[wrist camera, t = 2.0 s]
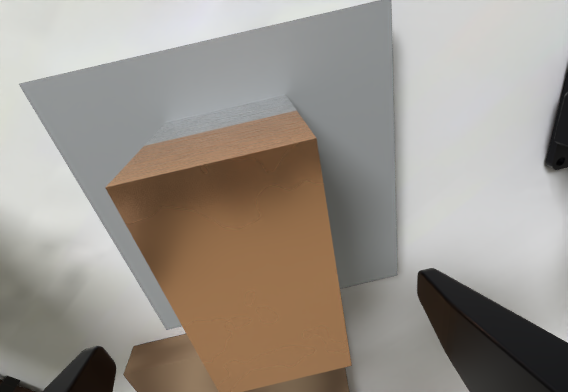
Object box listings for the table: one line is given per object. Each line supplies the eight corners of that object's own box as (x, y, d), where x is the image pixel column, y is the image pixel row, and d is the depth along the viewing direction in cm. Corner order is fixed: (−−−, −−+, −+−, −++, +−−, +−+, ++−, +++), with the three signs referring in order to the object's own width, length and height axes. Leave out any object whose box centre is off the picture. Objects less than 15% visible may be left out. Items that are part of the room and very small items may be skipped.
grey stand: (370, 3, 13) (391, -3, 11) (383, 253, 19) (397, 275, 18) (50, 77, 13) (18, 83, 11) (173, 303, 19) (166, 330, 18)
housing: (285, 94, 12) (316, 138, 7) (317, 260, 16) (351, 365, 11) (165, 122, 12) (105, 187, 7) (228, 281, 16) (221, 396, 11)
